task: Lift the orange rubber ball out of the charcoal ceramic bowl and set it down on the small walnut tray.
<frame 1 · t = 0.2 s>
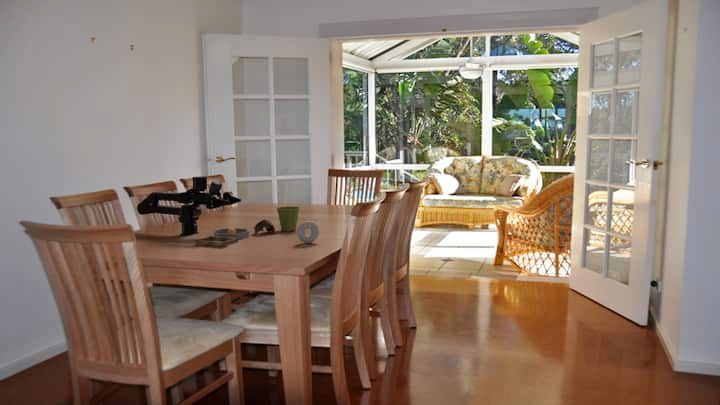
hand: (235, 201, 272), 17 cm above the table, tool horizontal, fingers open, 9 cm apart
tray: (217, 244, 258), on the table
ball: (231, 236, 273), point 1 cm above the table, touching bowl
donut: (308, 243, 261), on the table
bowl: (231, 238, 273), on the table
broken clay ring: (266, 235, 283), on the table
plant pot: (288, 230, 294), on the table
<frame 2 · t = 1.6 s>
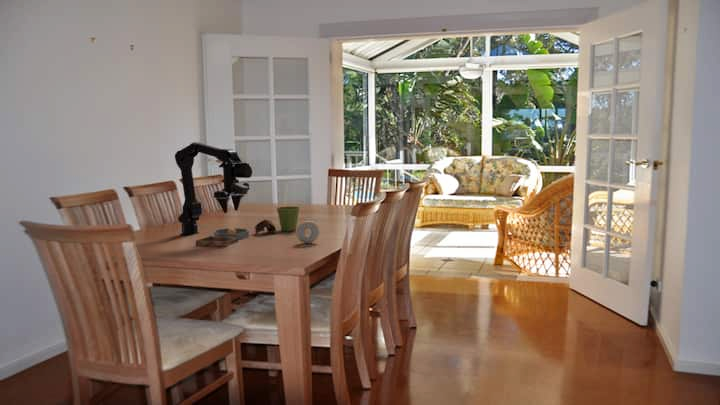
hand: (231, 211, 272), 12 cm above the table, tool pointing down, fingers open, 9 cm apart
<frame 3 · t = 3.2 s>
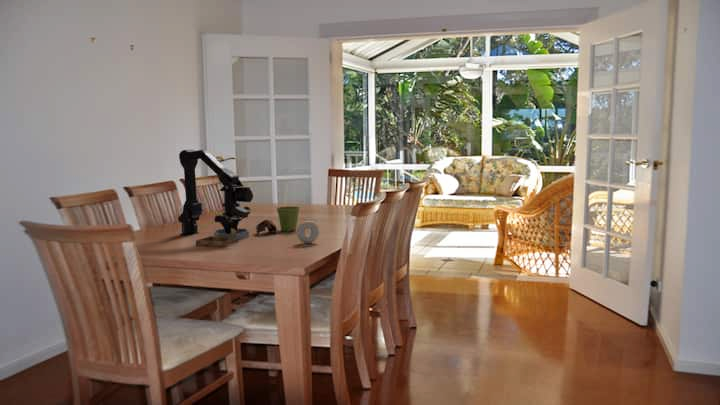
hand: (231, 235, 273), 1 cm above the table, tool pointing down, fingers closed on ball, 4 cm apart
ball: (231, 236, 273), point 1 cm above the table, touching bowl, gripper
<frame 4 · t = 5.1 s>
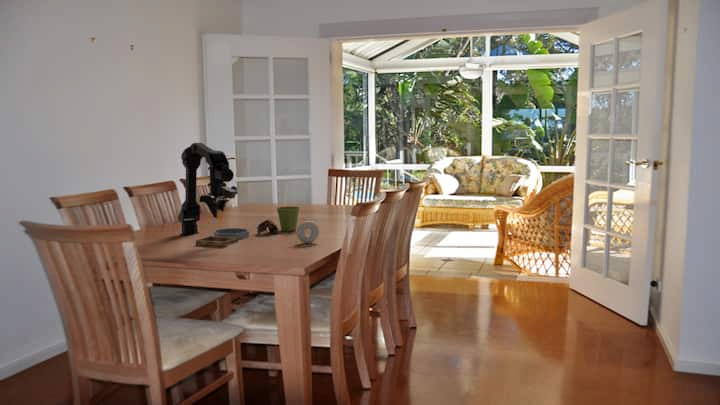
hand: (217, 216, 257), 12 cm above the table, tool pointing down, fingers closed on ball, 4 cm apart
ball: (218, 218, 257), point 11 cm above the table, touching gripper
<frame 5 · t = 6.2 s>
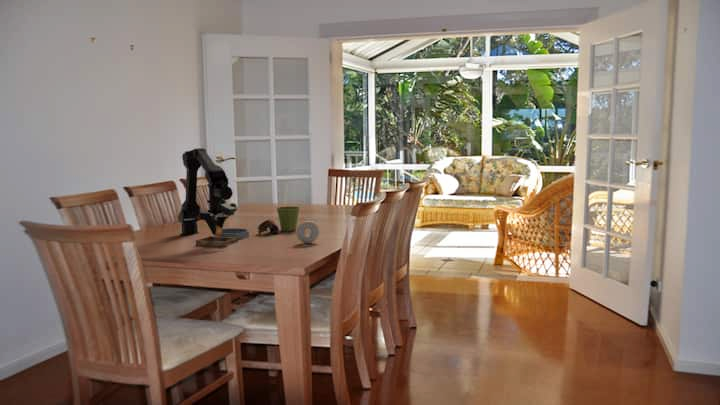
hand: (217, 233, 258), 5 cm above the table, tool pointing down, fingers closed on ball, 4 cm apart
ball: (217, 235, 258), point 4 cm above the table, touching gripper
when the fingers open (2 cm above the table, at t = 6.9 s): ball drops 1 cm, resting on tray.
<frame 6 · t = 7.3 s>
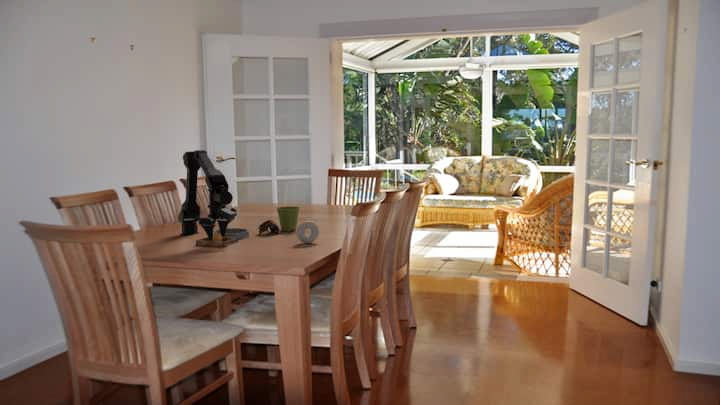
hand: (217, 238, 258), 2 cm above the table, tool pointing down, fingers open, 9 cm apart
ball: (217, 242, 258), point 1 cm above the table, touching tray
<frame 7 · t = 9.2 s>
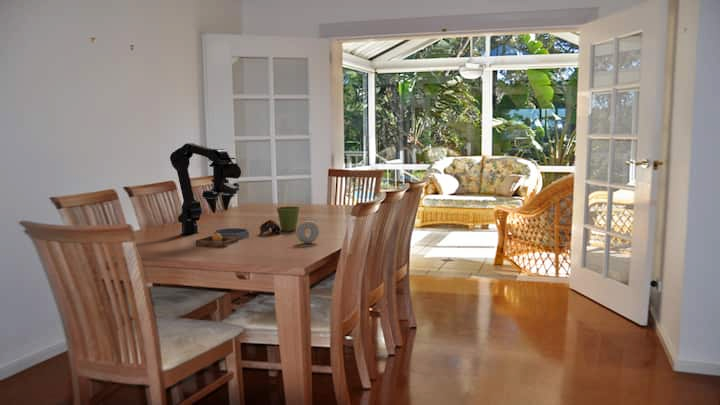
hand: (220, 211, 271), 12 cm above the table, tool pointing down, fingers open, 9 cm apart
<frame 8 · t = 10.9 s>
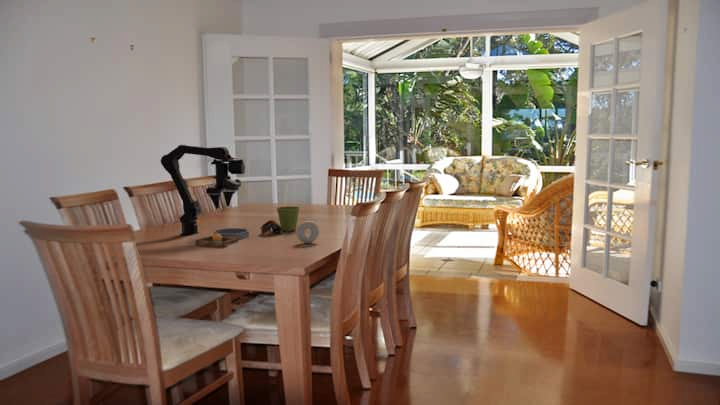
hand: (222, 207, 280), 13 cm above the table, tool pointing down, fingers open, 9 cm apart
at the end: ball inside the target area on the tray (0.1 cm from its centre), point 0.6 cm above the tray's base; the gripper is holding nothing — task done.
